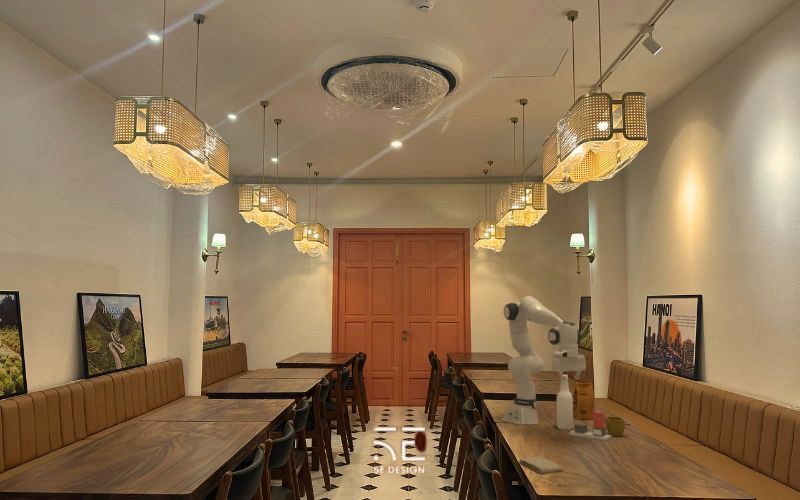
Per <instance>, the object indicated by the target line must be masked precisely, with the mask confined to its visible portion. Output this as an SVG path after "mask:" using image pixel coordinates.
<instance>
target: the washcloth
mask: <svg viewBox="0 0 800 500" xmlns="http://www.w3.org/2000/svg"><path fill="white" fill-rule="evenodd" d="M518 461H519V464H521V465H523V466H524V467H526V468H528V469H530V470H532V469H533V470H532V471H534V470H535V471H534V472H536V471H538V472H539V474H541V473H543V474H549V473H548V472H551V473H557V472H556V471H561V472H563V471H564V468H563V467H562V465H559V464H557V463H556V462H554V461H552V460H550V459H547V458H545V457H543V456H540V455H539V456H532V457H530V456H526V457H520V458H519V460H518ZM538 472H537V473H538Z"/></svg>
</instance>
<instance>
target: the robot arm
mask: <svg viewBox="0 0 800 500" xmlns="http://www.w3.org/2000/svg"><path fill="white" fill-rule="evenodd" d="M503 315H504V317H505V319H506V320H508V328H509V335H510V340H511V345H512V348H513V349H514V350H515V351H516V352H517V353H518V354H519V356H515V357H513V358H511V359H509V361H508V363H507V369H508V372H510V374H512V376H513V377H514V380H515V384H516V397H514V398H513V399H512V402H514V403H513V404H511V405H510V406H508V407H507V408H506V409H505V411H504V416H502V417H501V418H500V421H501V422H507V423H510V424H515V425H520V426H522V425H537V424H539V423H540V421H539V418H538V413H537V407H538V406H537V405H538V404H537V403H538V402H537V396H536V395H537V394H536V393H537V392H536V391H537V389H536V384H535V383H534V382H533V381H532V379H531V375H535V374H538V373H540V372H542V371H543V369H544V368H545V367H544V366H545V362H544V360H543V359H542V357H540V356H539V355H538V354H537V353H536V351H535V349H534V347H533V345H532V341H531V339H530V338H531V337H530V333H529V329H528V326H527V325H528V323H527V322H529V321H530V322H532V323H535V324H537V325H544V326H545V325H546V326H551V328H550V329H549V331H548V333H547V340H548V342H549V343H550V345H553V346H560V347H559V349H557V350H555V351H554V352H552V356H553V358H552V361H551V366H552V367H551V370H552V371H553V372H554V373H555V372H557V373H558V375H559V377H560V379H559V380H560V381H561V380H565V377H563V375H564V372H575V375H574V376H573V377H574V380H579V379H580V374H581V371H582V372H583V371H586V369H587V363H586V358H585V354H584V353H583V352H579V347H578V346H579V344H580V342H581V340H582V334H581V331H580V329H578V327H577V324H576V323H574V322H572V321H565V320H564V319H563V318H562V317H561V316H559V315H558V314H557V313H555V312H553V311H551V310H550V309H549V308H547V307H546V306H544V305H543V304H542V303H541V302H540V300H538V299H537V298H535V297H533V296H531V295H527V296H524V297H522V298H521V301H517V302H511V303H507V304H506V305H505V306H504V308H503Z"/></svg>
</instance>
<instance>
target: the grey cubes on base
mask: <svg viewBox="0 0 800 500" xmlns="http://www.w3.org/2000/svg"><path fill="white" fill-rule="evenodd" d="M606 431H607V428H606V426H605V428H600V429H599V428H595V427H592V432H591V431H588V424H585V423H579V422H578V423H576V424H574V429H572V430H569V431H568V436H573V437H580V438H586V439H592V440H598V441H604V442H607V441H609V440H611V439H613V438H612V437H613V436H612V435H610V434H607V432H606Z"/></svg>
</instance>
